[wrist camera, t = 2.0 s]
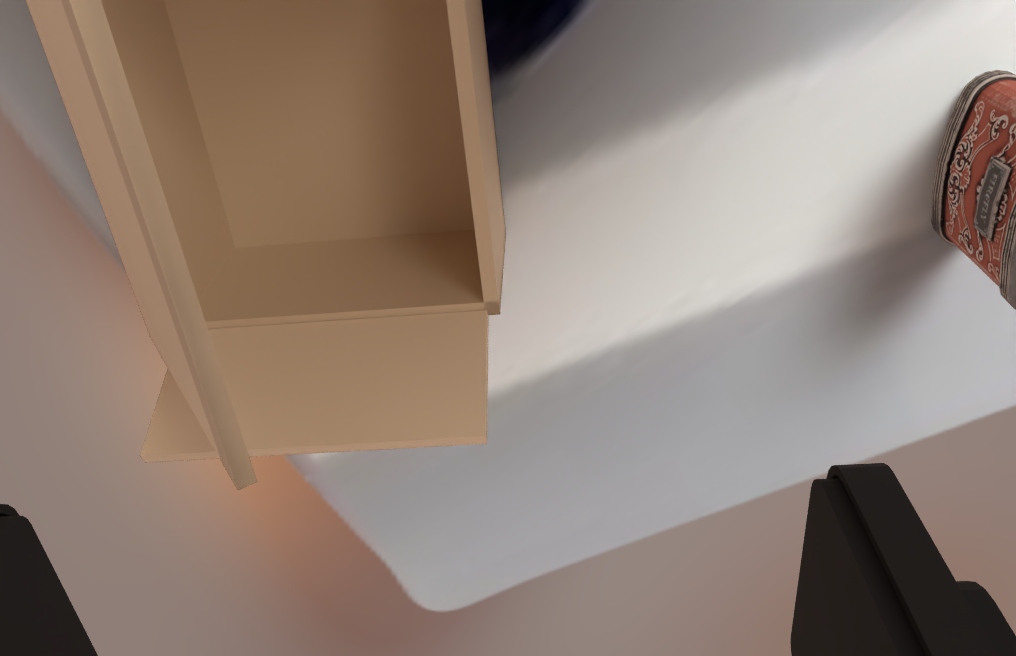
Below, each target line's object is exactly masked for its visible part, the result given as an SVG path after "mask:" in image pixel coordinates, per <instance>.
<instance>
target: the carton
mask: <svg viewBox="0 0 1016 656" xmlns="http://www.w3.org/2000/svg"><path fill="white" fill-rule="evenodd" d="M101 2H102V6H103V9H104V12H105V15H106V18H107V21H108V24H109V27H110V30H111V33H112V36H113V39H114V42H115V46H116V49H117V52H118V55H119V58H120V61H121V64H122V67H123V70H124V73H125V76H126V79H127V82H128V85H129V89H130V92H131V95H132V98H133V101H134V104H135V107H136V110H137V113H138V116H139V119H140V122H141V125H142V128H143V132H144V135H145V138H146V141H147V144H148V147H149V150H150V153H151V156H152V159H153V162H154V165H155V168H156V172H157V175H158V178H159V181H160V184H161V187H162V190H163V193H164V196H165V199H166V202H167V205H168V208H169V211H170V215H171V218H172V221H173V224H174V227H175V230H176V233H177V236H178V239H179V242H180V245H181V248H182V251H183V255H184V258H185V261H186V264H187V267H188V270H189V273H190V276H191V279H192V282H193V285H194V288H195V291H196V294H197V298H198V301H199V304H200V307H201V310H202V313H203V316H204V319H205V322H206V325H207V328H208V331H209V334H210V337H211V341H212V344H213V347H214V350H215V353H216V356H217V359H218V362H219V365H220V368H221V371H222V374H223V377H224V381H225V384H226V387H227V390H228V393H229V396H230V399H231V402H232V405H233V408H234V411H235V414H236V417H237V420H238V424H239V427H240V430H241V433H242V436H243V439H244V442H245V445H246V448H247V451H248V454H249V457H254V456H272V455H290V454H308V453H326V452H344V451H361V450H379V449H397V448H415V447H432V446H450V445H468V444H486V443H487V394H488V315H496V314H500V306H501V292H502V279H503V265H504V251H505V238H506V231H505V221H504V211H503V202H502V192H501V183H500V173H499V163H498V154H497V144H496V134H495V125H494V115H493V105H492V96H491V86H490V76H489V67H488V57H487V47H486V38H485V28H484V18H483V9H482V0H101ZM140 457H141V458H142V459H143V460H144V461H145V462H146V463H147V462H166V461H183V460H201V459H219V456H218V454H217V453H216V451H215V449H214V447H213V446H212V444H211V442H210V440H209V439H208V437H207V435H206V433H205V432H204V430H203V428H202V426H201V425H200V423H199V421H198V420H197V418H196V416H195V414H194V413H193V411H192V409H191V407H190V406H189V404H188V402H187V400H186V399H185V397H184V395H183V393H182V392H181V390H180V388H179V386H178V385H177V383H176V381H175V380H174V378H173V376H172V374H171V373H170V371H169V369H167V372H166V375H165V378H164V381H163V384H162V388H161V391H160V394H159V397H158V400H157V403H156V407H155V410H154V413H153V416H152V419H151V422H150V425H149V429H148V432H147V435H146V438H145V441H144V444H143V448H142V451H141V454H140Z"/></svg>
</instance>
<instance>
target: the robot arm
mask: <svg viewBox="0 0 1016 656" xmlns="http://www.w3.org/2000/svg"><path fill="white" fill-rule="evenodd" d="M799 574H800V575H799V581H798V588H797V596H796V603H795V610H794V618H793V625H792V632H791V652H792V656H1016V636H1015V634H1014V633H1013V631H1012V629H1011V628H1010V626H1009V624H1008V623H1007V621H1006V619H1005V618H1004V616H1003V614H1002V613H1001V611H1000V610H999V608H998V606H997V605H996V603H995V601H994V600H993V599H992V598H991V596H990V595H989V594H988V592H987V591H986V590H985V589H984V588H983V587H982V586H980V585H979V584H978V583H976V582H971V581H957V582H956V581H955V579H954V577H953V576H952V574H951V572H950V570H949V568H948V567H947V565H946V563H945V562H944V560H943V558H942V556H941V554H940V553H939V551H938V549H937V547H936V546H935V544H934V542H933V541H932V539H931V537H930V535H929V533H928V532H927V530H926V528H925V527H924V525H923V523H922V521H921V520H920V518H919V516H918V514H917V513H916V511H915V509H914V507H913V506H912V504H911V502H910V500H909V499H908V497H907V495H906V493H905V492H904V490H903V488H902V487H901V485H900V483H899V481H898V480H897V478H896V476H895V474H894V473H893V471H892V470H891V468H890V467H889V466H888V465H886V464H884V463H875V464H853V465H834V466H831V468H830V469H829V471H828V475H827V479H816V480H814V481H813V483H812V487H811V493H810V501H809V507H808V515H807V522H806V529H805V537H804V544H803V551H802V559H801V566H800V573H799ZM0 656H98V655H97V653H96V651H95V649H94V647H93V645H92V643H91V641H90V639H89V637H88V635H87V633H86V631H85V629H84V628H83V625H82V623H81V622H80V620H79V618H78V616H77V614H76V612H75V610H74V608H73V606H72V604H71V602H70V600H69V598H68V596H67V594H66V592H65V590H64V588H63V586H62V584H61V582H60V580H59V578H58V576H57V574H56V572H55V570H54V568H53V566H52V564H51V563H50V560H49V558H48V557H47V555H46V552H45V551H44V549H43V547H42V545H41V543H40V541H39V539H38V537H37V535H36V533H35V531H34V529H33V527H32V525H31V523H30V522H29V520H28V519H27V518H25V517H23V516H19V514H18V513H17V511H16V510H15V509H14V508H13V507H11V506H9V505H5V504H0Z"/></svg>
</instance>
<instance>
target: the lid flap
mask: <svg viewBox="0 0 1016 656" xmlns="http://www.w3.org/2000/svg"><path fill="white" fill-rule="evenodd" d="M26 2H27V5H28V8H29V10H30V13H31V16H32V18H33V21H34V24H35V26H36V29H37V32H38V35H39V37H40V40H41V43H42V45H43V48H44V51H45V54H46V56H47V59H48V62H49V64H50V67H51V70H52V73H53V75H54V78H55V81H56V83H57V86H58V89H59V92H60V94H61V97H62V100H63V102H64V105H65V108H66V111H67V113H68V116H69V119H70V121H71V124H72V127H73V129H74V132H75V135H76V138H77V140H78V143H79V146H80V148H81V151H82V154H83V157H84V159H85V162H86V165H87V167H88V170H89V173H90V176H91V178H92V181H93V184H94V186H95V189H96V192H97V195H98V197H99V200H100V203H101V205H102V208H103V211H104V213H105V216H106V219H107V222H108V224H109V227H110V230H111V232H112V235H113V238H114V241H115V243H116V246H117V249H118V251H119V254H120V257H121V260H122V262H123V265H124V268H125V270H126V273H127V276H128V279H129V281H130V284H131V286H132V289H133V292H134V295H135V297H136V300H137V303H138V306H139V308H140V311H141V314H142V316H143V319H144V322H145V325H146V327H147V330H148V332H149V335H150V338H151V340H152V341H153V343H154V345H155V346H156V348H157V350H158V352H159V353H160V355H161V357H162V358H163V360H164V362H165V364H166V366H167V367H168V369H169V371H170V373H171V374H172V376H173V378H174V380H175V381H176V383H177V385H178V386H179V388H180V390H181V392H182V393H183V395H184V397H185V399H186V400H187V402H188V404H189V406H190V407H191V409H192V411H193V413H194V414H195V416H196V418H197V420H198V421H199V423H200V425H201V426H202V428H203V430H204V432H205V433H206V435H207V437H208V439H209V440H210V442H211V444H212V446H213V447H214V449H215V451H216V453H217V454H218V456H219V458H220V459H221V461H222V463H223V465H224V467H225V469H226V470H227V472H228V474H229V476H230V478H231V479H232V481H233V483H234V485H235V486H236V488H237V490H240V489H242V488H244V487H247V486H249V485H251V484H253V483H256V482H257V479H256V476H255V473H254V470H253V467H252V464H251V460H250V457H249V454H248V451H247V448H246V445H245V442H244V439H243V436H242V433H241V430H240V427H239V424H238V420H237V417H236V414H235V411H234V408H233V405H232V402H231V399H230V396H229V393H228V390H227V387H226V384H225V381H224V377H223V374H222V371H221V368H220V365H219V362H218V359H217V356H216V353H215V350H214V347H213V344H212V341H211V337H210V334H209V331H208V328H207V325H206V322H205V319H204V316H203V313H202V310H201V307H200V304H199V301H198V298H197V294H196V291H195V288H194V285H193V282H192V279H191V276H190V273H189V270H188V267H187V264H186V261H185V258H184V255H183V251H182V248H181V245H180V242H179V239H178V236H177V233H176V230H175V227H174V224H173V221H172V218H171V215H170V211H169V208H168V205H167V202H166V199H165V196H164V193H163V190H162V187H161V184H160V181H159V178H158V175H157V172H156V168H155V165H154V162H153V159H152V156H151V153H150V150H149V147H148V144H147V141H146V138H145V135H144V132H143V128H142V125H141V122H140V119H139V116H138V113H137V110H136V107H135V104H134V101H133V98H132V95H131V92H130V89H129V85H128V82H127V79H126V76H125V73H124V70H123V67H122V64H121V61H120V58H119V55H118V52H117V49H116V46H115V42H114V39H113V36H112V33H111V30H110V27H109V24H108V21H107V18H106V15H105V12H104V9H103V6H102V2H101V0H26Z"/></svg>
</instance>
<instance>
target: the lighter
mask: <svg viewBox="0 0 1016 656" xmlns="http://www.w3.org/2000/svg"><path fill="white" fill-rule="evenodd" d="M932 225H933V228H934V230H935V231H936V232H937V233H938V234H939V235H940V236H941V237H942V238H943V239H944V240H945V241H946V242H948V243H951V244H953V245H956V246H957V247H958V248H959V249H960V250H961V251H962V252H964V253H965V254H966V255H967V256H968V257H969V258H970V259H971V260H972V261H973V262H974V263H975V264H976V265H977V266H978V267H979V268H980V269H981V270H982V271H983V272H984V273H985V274H986V275H987V276H988V277H989V278H990V279H991V280H992V281H993V282H995V283H996V284H997V285H998V286H999V288H1000V293H1001V295H1002V296H1003V298H1004V299H1005V300H1006V301H1007V302H1008V303H1009V304H1010V305H1011V306H1012V307H1013V308H1014V309H1016V75H1014V74H1012V73H1010V72H1008V71H1002V70H994V71H988V72H985V73H983V74H981V75H979V76H977V77H975V78H974V79H973V80H972V81H970V82H969V83H968V84H967V85H966V87H965V89H964V90H963V92H962V94H961V96H960V98H959V101H958V103H957V105H956V108H955V110H954V112H953V115H952V117H951V119H950V122H949V124H948V127H947V130H946V133H945V136H944V140H943V143H942V146H941V150H940V153H939V156H938V159H937V166H936V172H935V179H934V185H933V192H932Z"/></svg>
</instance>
